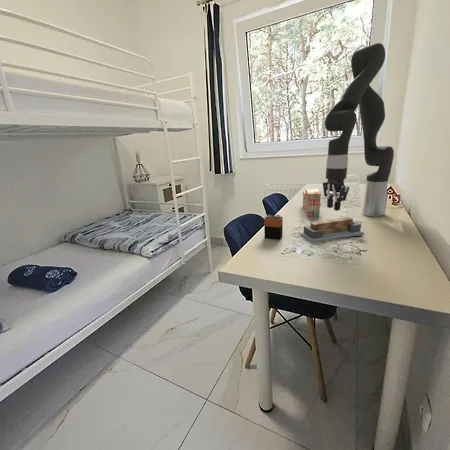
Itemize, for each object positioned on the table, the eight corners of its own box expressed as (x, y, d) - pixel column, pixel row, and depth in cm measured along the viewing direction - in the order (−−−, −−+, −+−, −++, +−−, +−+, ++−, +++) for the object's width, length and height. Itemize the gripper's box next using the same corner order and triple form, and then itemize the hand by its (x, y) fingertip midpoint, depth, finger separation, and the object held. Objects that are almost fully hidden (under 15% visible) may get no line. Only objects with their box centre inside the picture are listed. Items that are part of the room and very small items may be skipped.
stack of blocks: (302, 205, 153) (303, 185, 149) (313, 205, 152) (314, 185, 148) (307, 216, 133) (308, 193, 129) (319, 216, 132) (321, 193, 128)
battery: (279, 240, 105) (280, 217, 101) (264, 238, 108) (263, 216, 104) (282, 236, 108) (282, 214, 105) (267, 234, 111) (267, 213, 108)
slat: (347, 227, 110) (348, 217, 109) (351, 230, 108) (353, 218, 106) (310, 233, 107) (310, 222, 105) (314, 236, 104) (314, 224, 102)
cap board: (348, 227, 114) (349, 218, 112) (363, 233, 105) (364, 224, 104) (300, 234, 109) (300, 225, 108) (311, 242, 101) (312, 232, 99)
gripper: (317, 165, 104) (315, 206, 110) (340, 169, 91) (336, 214, 96) (333, 164, 105) (330, 204, 111) (358, 167, 92) (353, 212, 98)
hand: (333, 208), depth 104 cm, fingers open, 4 cm apart
